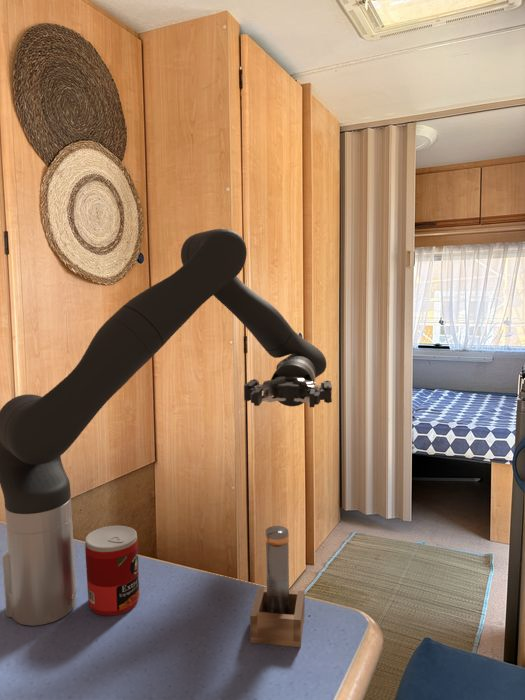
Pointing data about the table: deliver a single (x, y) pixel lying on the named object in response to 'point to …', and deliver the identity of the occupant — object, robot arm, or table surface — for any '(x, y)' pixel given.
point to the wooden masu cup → (278, 621)
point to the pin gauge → (277, 569)
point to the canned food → (112, 569)
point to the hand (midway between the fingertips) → (283, 400)
